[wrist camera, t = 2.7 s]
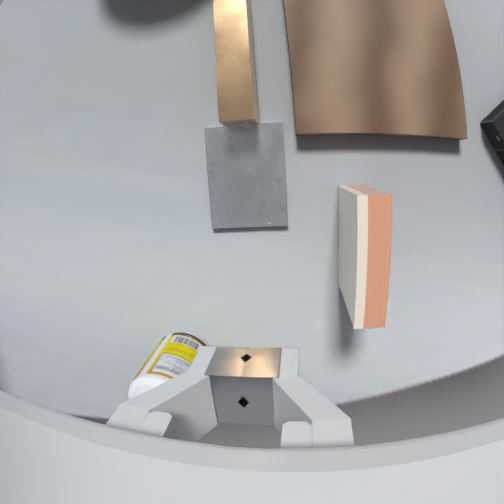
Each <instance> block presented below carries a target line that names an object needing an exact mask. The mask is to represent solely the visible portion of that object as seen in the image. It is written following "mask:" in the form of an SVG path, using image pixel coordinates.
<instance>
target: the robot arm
mask: <svg viewBox="0 0 504 504" xmlns="http://www.w3.org/2000/svg"><path fill="white" fill-rule="evenodd" d="M218 423H228V424H250V425H266V426H275V428H276V430H277V431H278V432H279V434H280V436H281V444H280V448H259V447H242V446H228V445H217V444H208V443H199V442H198V440H200V439H201V438H202V437H203V436H205V435H206V434H207V433H208V432H209V431H211V430H212V429H213V428H214V427H215V426H216V425H218ZM0 504H504V418H502V419H498V420H495V421H492V422H488V423H484V424H481V425H477V426H473V427H469V428H465V429H461V430H457V431H452V432H447V433H443V434H438V435H433V436H428V437H422V438H416V439H409V440H403V441H396V442H388V443H380V444H370V445H360V446H354V439H353V432H352V425H351V418H349V417H348V416H347V415H346V414H345V413H344V412H342V411H341V410H340V409H339V408H338V407H336V406H335V405H334V404H333V403H332V402H331V401H329V400H328V399H327V398H326V397H325V396H324V395H323V394H321V393H320V392H319V391H318V390H317V389H316V388H315V387H313V386H312V385H311V384H310V383H309V382H308V381H307V380H305V379H304V378H299V347H286V348H240V347H217V346H201V347H200V349H199V351H198V353H197V354H196V356H195V358H194V360H193V362H192V364H191V366H190V367H189V369H188V371H187V373H186V374H180V375H178V376H176V377H174V378H172V379H170V380H168V381H166V382H164V383H162V384H160V385H158V386H156V387H154V388H152V389H150V390H148V391H146V392H144V393H142V394H140V395H138V396H135V397H133V398H131V399H129V400H127V401H125V402H123V403H121V404H120V405H119V406H118V408H117V409H116V411H115V412H114V413H113V415H112V416H111V418H110V419H109V420H108V422H107V423H106V425H103V424H99V423H95V422H92V421H88V420H85V419H81V418H78V417H74V416H71V415H68V414H65V413H61V412H58V411H55V410H52V409H49V408H46V407H44V406H41V405H38V404H35V403H32V402H30V401H27V400H25V399H22V398H19V397H17V396H14V395H12V394H9V393H7V392H5V391H2V390H0Z"/></svg>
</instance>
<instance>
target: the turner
mask: <svg viewBox="0 0 504 504" xmlns="http://www.w3.org/2000/svg"><path fill="white" fill-rule="evenodd" d="M213 7H214V32H215V54H216V74H217V93H218V110H219V122H220V123H222V124H224V125H226V126H225V127H215V128H206V129H205V142H206V157H207V171H208V185H209V198H210V210H211V222H212V229H217V228H241V227H269V226H288V214H287V192H286V173H285V155H284V138H283V123H282V122H279V123H262V124H259V114H258V99H257V84H256V70H255V56H254V43H253V30H252V17H251V4H250V0H213Z"/></svg>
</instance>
